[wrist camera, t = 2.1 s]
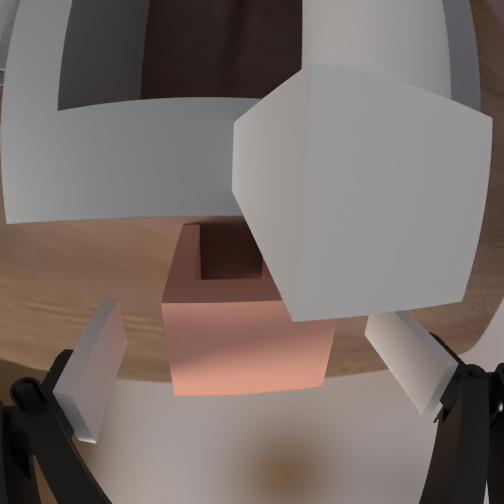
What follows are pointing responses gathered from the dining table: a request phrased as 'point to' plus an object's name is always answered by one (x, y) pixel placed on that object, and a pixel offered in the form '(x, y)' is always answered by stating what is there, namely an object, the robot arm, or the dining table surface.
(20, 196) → the gray square frame
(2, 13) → the ceramic mug
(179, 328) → the coral u-channel block
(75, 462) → the robot arm
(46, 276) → the dining table surface
